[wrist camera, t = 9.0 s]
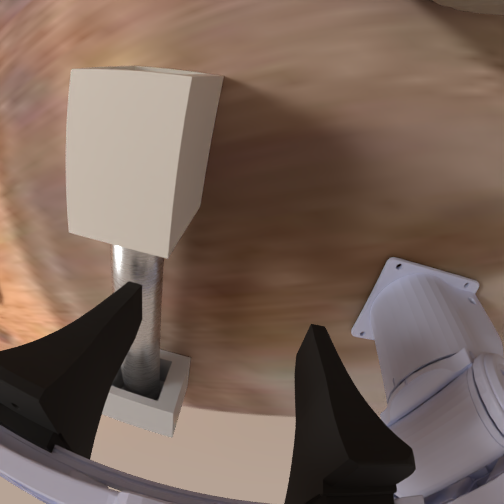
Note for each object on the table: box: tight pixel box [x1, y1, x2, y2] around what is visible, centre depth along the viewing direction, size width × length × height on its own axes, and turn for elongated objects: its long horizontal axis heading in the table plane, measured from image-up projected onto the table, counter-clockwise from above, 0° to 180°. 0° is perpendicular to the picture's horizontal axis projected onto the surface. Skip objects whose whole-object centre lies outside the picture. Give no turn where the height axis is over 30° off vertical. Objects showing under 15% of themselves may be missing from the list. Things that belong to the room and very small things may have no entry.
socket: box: [102, 349, 191, 437], centre depth 29 cm, size 8×6×7 cm
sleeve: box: [66, 66, 224, 259], centre depth 17 cm, size 6×9×7 cm
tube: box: [111, 244, 164, 400], centre depth 23 cm, size 4×22×4 cm, turn 168°
